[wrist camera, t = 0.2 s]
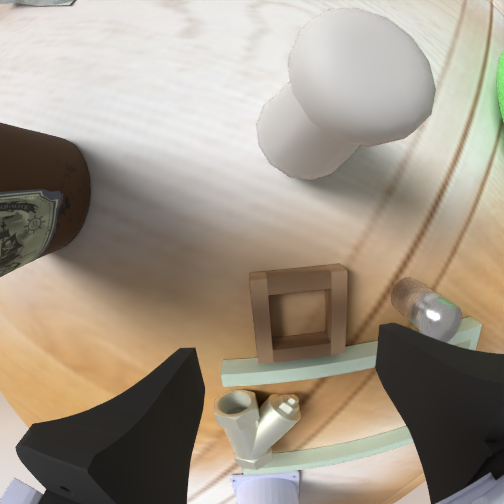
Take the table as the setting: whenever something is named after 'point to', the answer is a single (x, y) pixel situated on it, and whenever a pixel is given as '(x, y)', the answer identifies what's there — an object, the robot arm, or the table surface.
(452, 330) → the pin
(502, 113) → the toy bird
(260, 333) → the tan square frame
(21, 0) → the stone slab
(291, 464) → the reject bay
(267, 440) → the pipe fitting
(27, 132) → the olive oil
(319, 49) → the salt shaker
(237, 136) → the table surface
